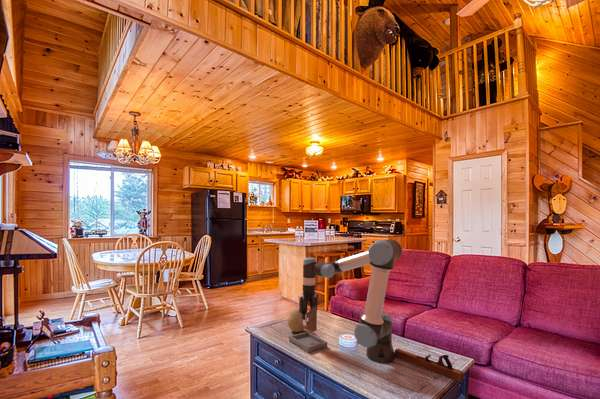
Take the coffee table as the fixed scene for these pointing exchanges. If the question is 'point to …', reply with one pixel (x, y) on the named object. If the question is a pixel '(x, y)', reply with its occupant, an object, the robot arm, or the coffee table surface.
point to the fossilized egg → (294, 320)
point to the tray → (308, 342)
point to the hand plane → (431, 364)
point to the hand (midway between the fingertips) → (308, 324)
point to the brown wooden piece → (310, 319)
